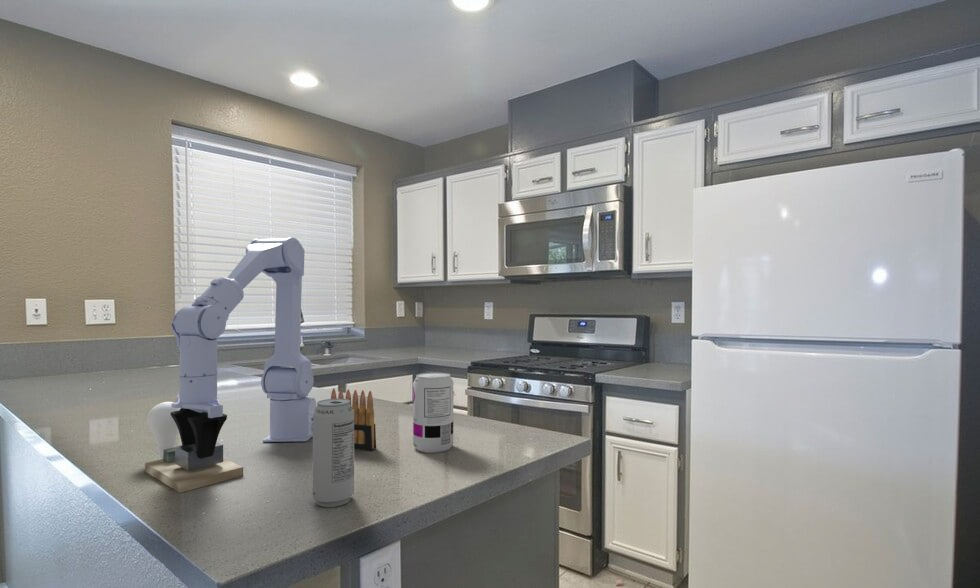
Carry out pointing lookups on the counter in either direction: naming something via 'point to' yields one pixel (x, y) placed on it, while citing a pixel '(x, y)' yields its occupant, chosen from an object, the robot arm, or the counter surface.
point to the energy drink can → (333, 452)
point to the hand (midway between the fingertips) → (198, 453)
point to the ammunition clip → (361, 419)
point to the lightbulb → (163, 426)
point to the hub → (196, 456)
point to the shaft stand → (190, 472)
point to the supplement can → (433, 412)
